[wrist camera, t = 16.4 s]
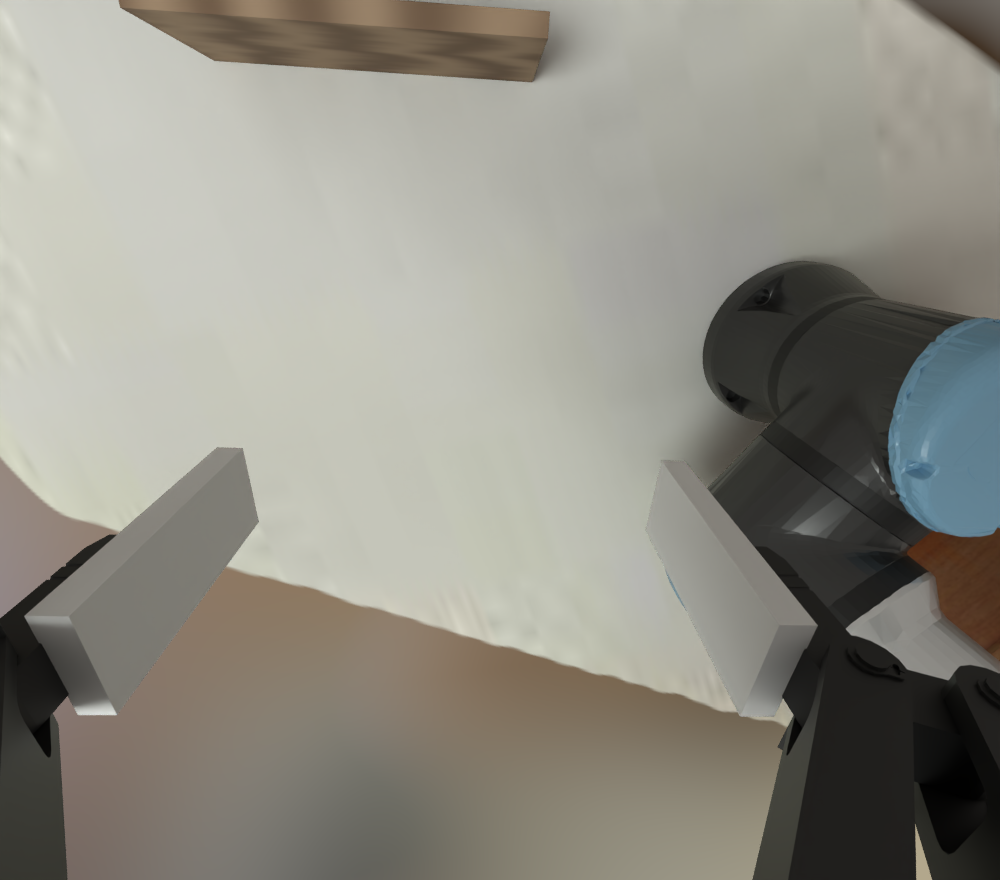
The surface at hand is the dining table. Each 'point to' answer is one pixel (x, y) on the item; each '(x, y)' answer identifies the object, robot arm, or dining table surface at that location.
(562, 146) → the dining table surface
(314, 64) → the walnut screen
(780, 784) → the robot arm
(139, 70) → the dining table surface
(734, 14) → the dining table surface
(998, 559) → the wooden box
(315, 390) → the dining table surface
